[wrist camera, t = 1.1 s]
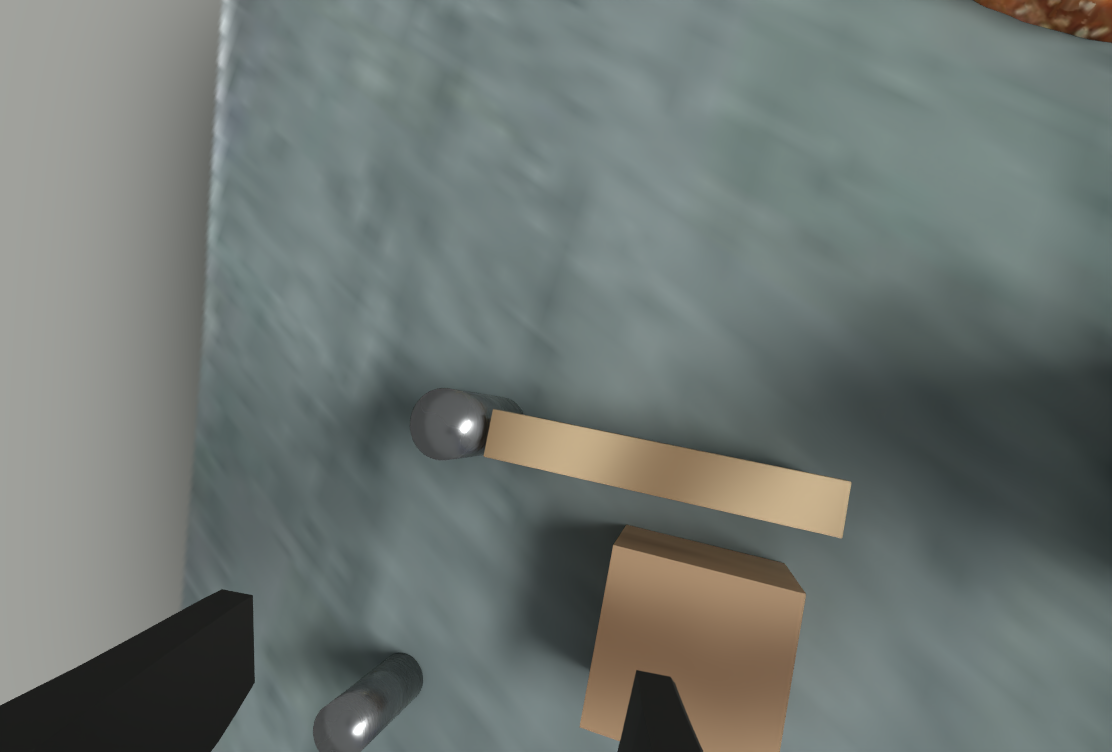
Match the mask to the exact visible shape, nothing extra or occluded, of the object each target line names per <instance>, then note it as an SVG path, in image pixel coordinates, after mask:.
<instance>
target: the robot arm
mask: <svg viewBox="0 0 1112 752" xmlns="http://www.w3.org/2000/svg"><path fill="white" fill-rule="evenodd" d="M254 683H255V677H254V632H253V595H248V594H243V593H238V592H233V591H228V590H220V591H218V592H216V593H214V594H212V595H210V596H208V597H206V598H204V599H202V600H200V601H198V602H196V603H194V604H193V605H191V606H189V607H187V608H185V609H183V610H182V611H180V612H178V613H176V614H174V615H172V616H171V617H169V618H167V619H165V620H163V621H162V622H160V623H158V624H156V625H154V626H152V627H151V628H149V629H147V630H145V631H143V632H141V633H140V634H138V635H136V636H134V637H132V638H130V639H128V640H127V641H125V642H123V643H121V644H119V645H117V646H115V647H114V648H112V649H110V650H108V651H106V652H104V653H102V654H100V655H99V656H97V657H95V658H93V659H91V660H89V661H88V662H86V663H84V664H82V665H80V666H78V667H76V668H74V669H72V670H70V671H68V672H66V673H64V674H62V675H60V676H58V677H56V678H54V679H52V680H50V681H49V682H46V683H44V684H42V685H40V686H38V687H36V688H34V689H32V690H30V691H28V692H26V693H24V694H22V695H20V696H18V697H16V698H14V699H12V700H10V701H8V702H6V703H4V704H2V705H0V752H211V751H212V749H213V748H214V747H215V745H216V744H217V743H218V741H219V740H220V738H221V737H222V735H223V733H224V732H225V730H226V729H227V727H228V726H229V724H230V722H231V721H232V719H233V718H234V716H235V715H236V713H237V711H238V709H239V708H240V706H241V704H242V703H243V701H244V699H245V698H246V696H247V694H248V693H249V691H250V689H251V688H252V686H253V684H254ZM618 752H703V750H702V747H701V745H700V743H699V740H698V738H697V736H696V734H695V731H694V729H693V727H692V724H691V722H690V720H689V717H688V715H687V712H686V710H685V707H684V705H683V702H682V700H681V697H680V695H679V692H678V690H677V687H676V684H675V682H674V681H673V679H672V678H671V677H670V676H665V675H660V674H655V673H650V672H644V671H639V670H636V674H635V678H634V682H633V687H632V691H631V695H630V700H629V704H628V709H627V713H626V717H625V722H624V726H623V731H622V735H621V739H620V744H619V748H618Z"/></svg>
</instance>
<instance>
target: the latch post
mask: <svg viewBox="0 0 1112 752" xmlns="http://www.w3.org/2000/svg"><path fill="white" fill-rule="evenodd" d="M422 684H423V675H422V671H421V668H420V666H419V664H418V663H417V661H416V660H415V659H414V658H412V657H411V656H409V655H407V654H403V653H398V654H394V655H392V656H390V657H389V658H388V659H386V660H385V661H384V662H383V663H381V664H380V665H379V666H377V667H376V668H375V669H373V670H372V671H371V672H369V673H368V674H367V675H366V676H364V677H363V678H362V679H360V680H359V681H358V682H356V683H355V684H354V685H352V686H351V687H350V688H349V689H347V690H346V691H345V692H343V693H342V694H341V695H339V696H338V697H337V698H336V699H334V700H333V701H332V702H330V703H329V704H328V705H326V706H325V707H324V708H322V709H321V710H320V712H319V713H318V715H317V716H316V719H315V722H314V726H313V736H314V741H315V744H316V747H317V748H318V750H319V752H361V751H362V750H363V749H364V748H365V747H366V746H367V745H368V744H369V743H370V742H371V741H372V740H373V739H374V738H375V737H376V736H377V735H378V734H379V733H380V732H381V731H382V730H383V729H384V728H385V727H386V726H387V725H388V724H389V723H390V722H391V721H392V720H393V719H394V718H395V717H396V716H397V715H398V714H399V713H400V712H401V711H402V710H403V709H404V708H405V707H406V706H407V705H408V704H409V703H410V702H411V701H412V700H413V699H414V698H415V697H416V696H417V695H418V694H419V692H420V691H421V688H422Z"/></svg>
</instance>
